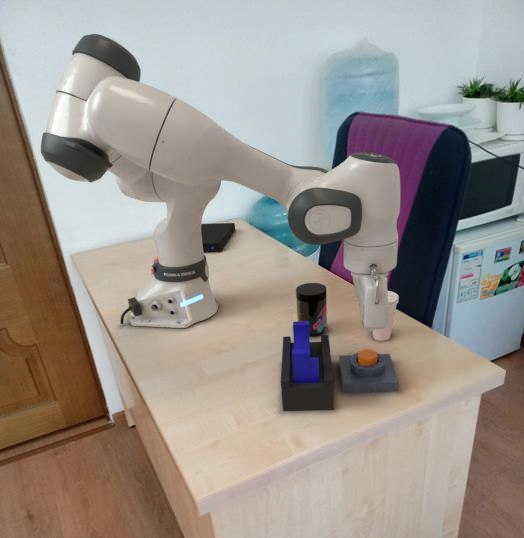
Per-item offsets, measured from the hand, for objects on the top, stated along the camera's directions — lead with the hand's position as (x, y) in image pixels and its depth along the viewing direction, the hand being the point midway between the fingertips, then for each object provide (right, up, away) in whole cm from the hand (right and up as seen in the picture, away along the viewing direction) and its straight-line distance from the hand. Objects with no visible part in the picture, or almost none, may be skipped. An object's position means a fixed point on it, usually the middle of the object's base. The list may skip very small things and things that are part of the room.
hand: (367, 327), depth 91 cm
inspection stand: (-11, -11, +5) cm, 16 cm away
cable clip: (-11, -7, +2) cm, 13 cm away
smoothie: (+7, -1, +19) cm, 20 cm away
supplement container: (-8, 0, +24) cm, 25 cm away
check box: (+1, -9, +6) cm, 11 cm away
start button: (+1, -6, +4) cm, 7 cm away
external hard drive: (-38, +35, +87) cm, 101 cm away
